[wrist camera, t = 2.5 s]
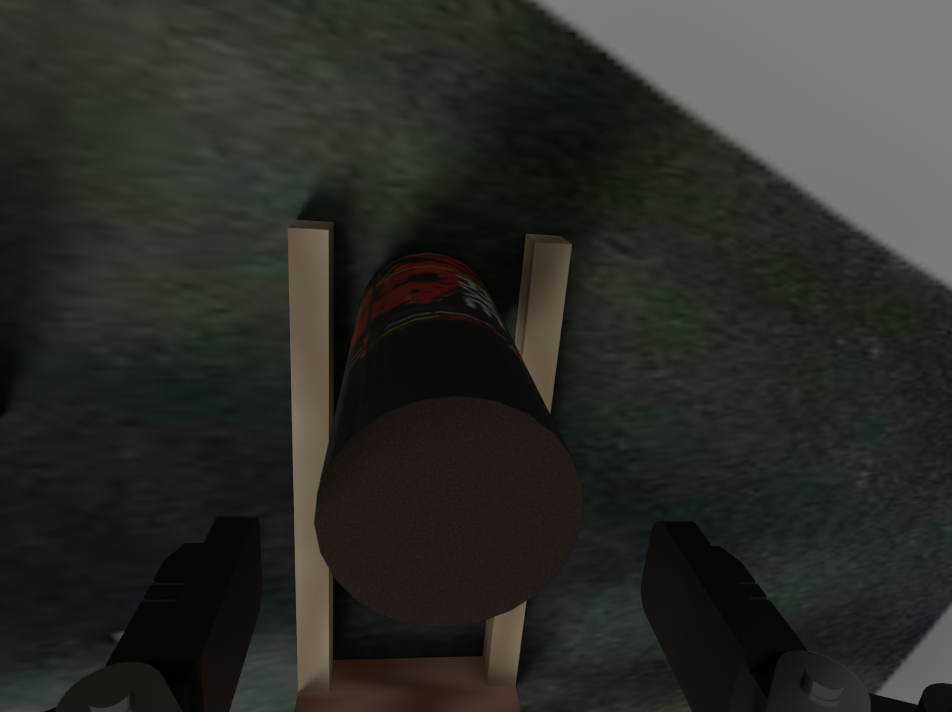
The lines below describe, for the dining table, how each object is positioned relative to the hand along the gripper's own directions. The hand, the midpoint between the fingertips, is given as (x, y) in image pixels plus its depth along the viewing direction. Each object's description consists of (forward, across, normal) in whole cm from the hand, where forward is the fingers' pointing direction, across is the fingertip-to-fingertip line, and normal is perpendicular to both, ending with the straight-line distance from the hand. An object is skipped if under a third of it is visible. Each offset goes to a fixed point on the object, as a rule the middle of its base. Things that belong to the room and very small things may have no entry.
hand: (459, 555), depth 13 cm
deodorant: (+16, 0, 0) cm, 16 cm away
